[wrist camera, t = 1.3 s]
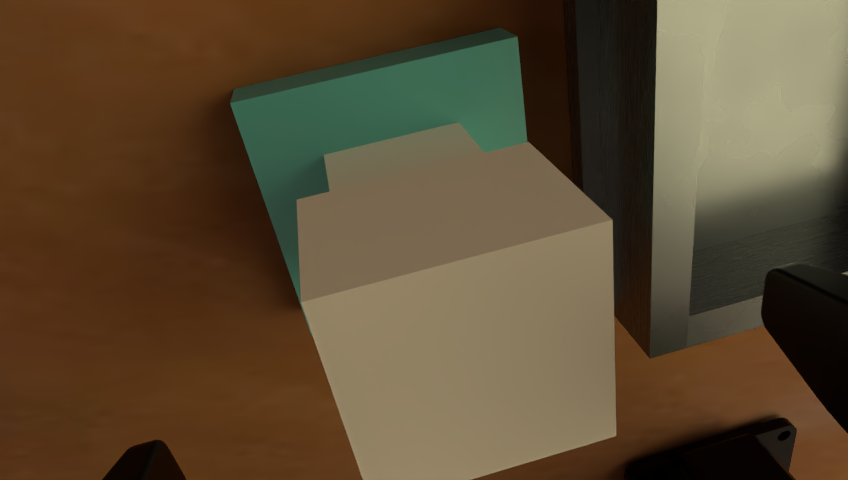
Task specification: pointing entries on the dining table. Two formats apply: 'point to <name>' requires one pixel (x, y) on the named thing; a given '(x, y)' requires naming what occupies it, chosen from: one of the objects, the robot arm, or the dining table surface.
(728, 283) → the keyhole guide
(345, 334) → the slider
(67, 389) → the dining table surface
